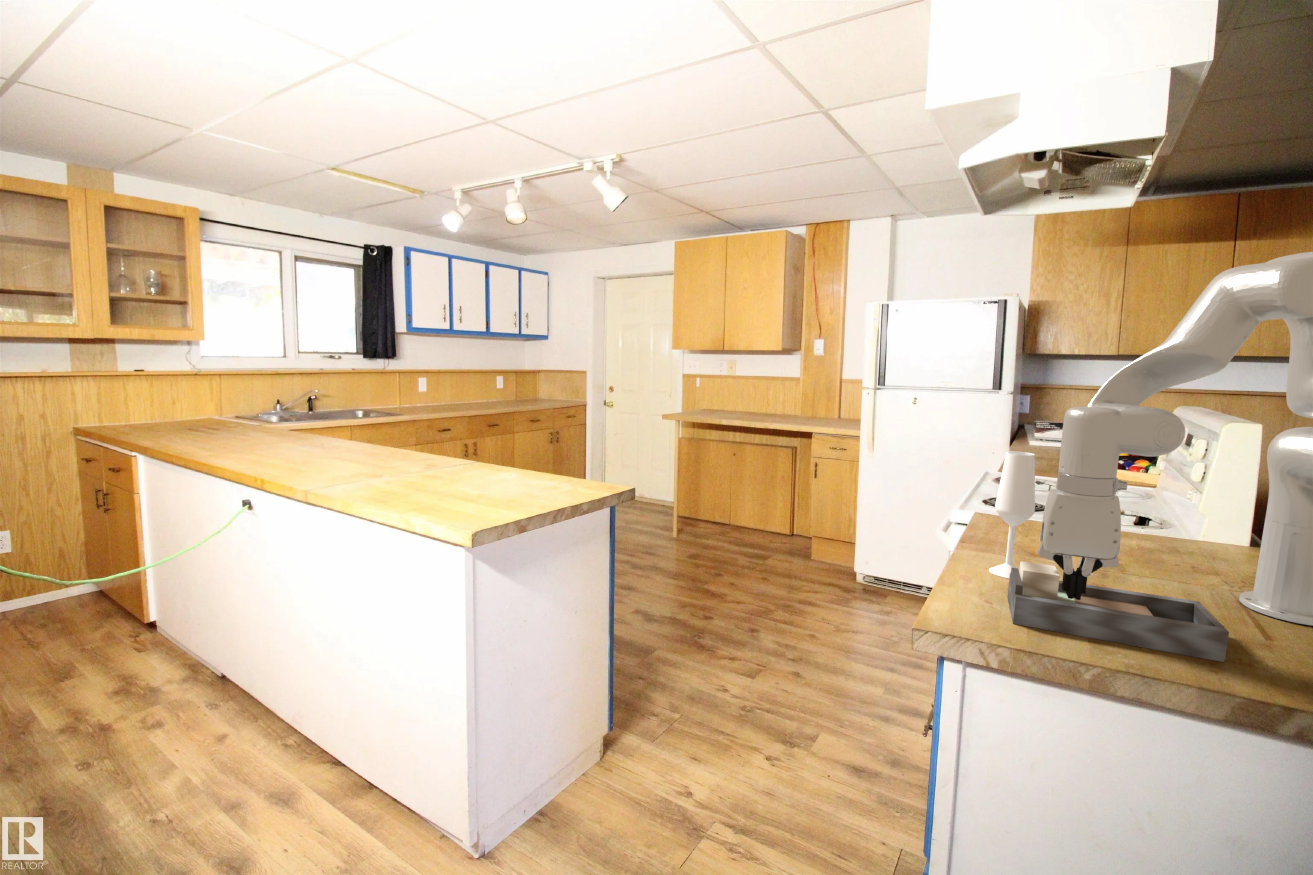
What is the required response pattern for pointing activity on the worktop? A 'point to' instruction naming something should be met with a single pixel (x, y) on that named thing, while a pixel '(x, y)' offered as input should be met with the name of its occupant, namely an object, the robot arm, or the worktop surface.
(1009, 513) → the champagne flute
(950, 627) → the worktop surface
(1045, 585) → the block
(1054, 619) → the tray
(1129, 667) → the worktop surface
